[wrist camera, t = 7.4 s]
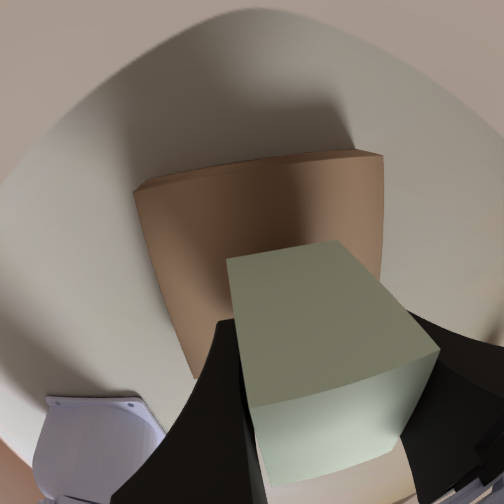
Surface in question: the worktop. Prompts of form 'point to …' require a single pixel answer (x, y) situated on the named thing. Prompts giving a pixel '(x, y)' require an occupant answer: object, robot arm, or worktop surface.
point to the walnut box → (253, 226)
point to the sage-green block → (324, 359)
